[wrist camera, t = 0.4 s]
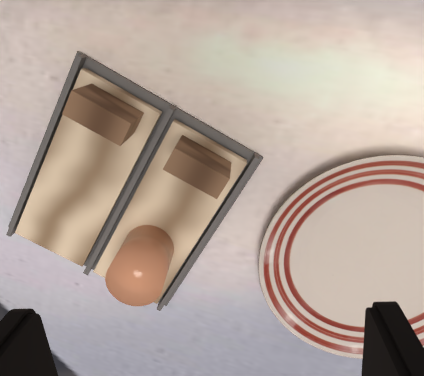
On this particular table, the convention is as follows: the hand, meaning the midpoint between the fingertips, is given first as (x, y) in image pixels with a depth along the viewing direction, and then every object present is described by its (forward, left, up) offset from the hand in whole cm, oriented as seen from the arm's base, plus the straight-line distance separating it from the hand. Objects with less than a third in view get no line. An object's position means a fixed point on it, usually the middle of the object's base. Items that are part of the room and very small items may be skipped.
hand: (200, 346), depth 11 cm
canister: (-1, -18, -31) cm, 36 cm away
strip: (-11, -14, -33) cm, 38 cm away
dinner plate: (+23, -6, -33) cm, 41 cm away
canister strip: (-1, -14, -33) cm, 36 cm away
